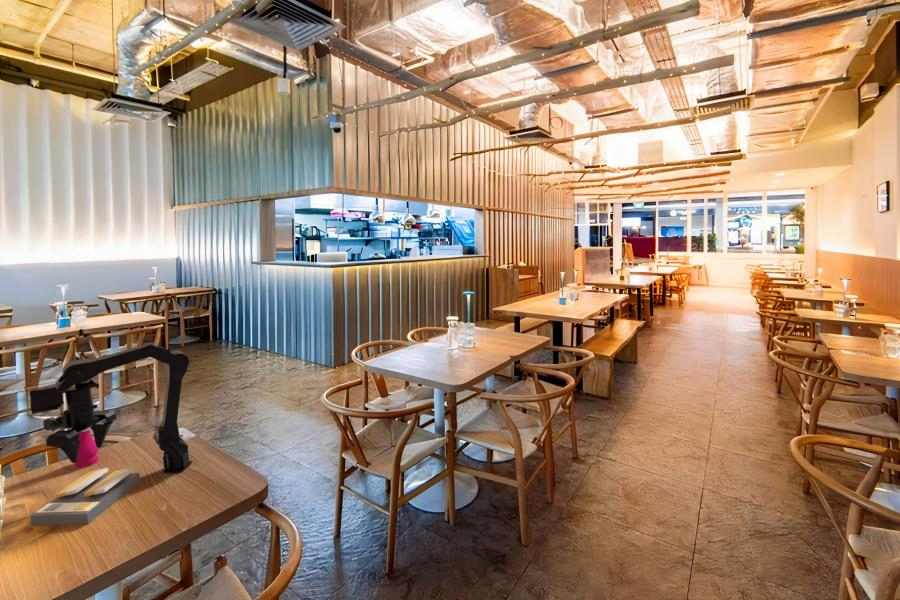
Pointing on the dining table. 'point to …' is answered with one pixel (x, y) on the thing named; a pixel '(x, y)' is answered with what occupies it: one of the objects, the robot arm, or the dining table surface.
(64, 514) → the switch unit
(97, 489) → the switch
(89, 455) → the pepper mill
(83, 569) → the dining table surface
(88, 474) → the switch
